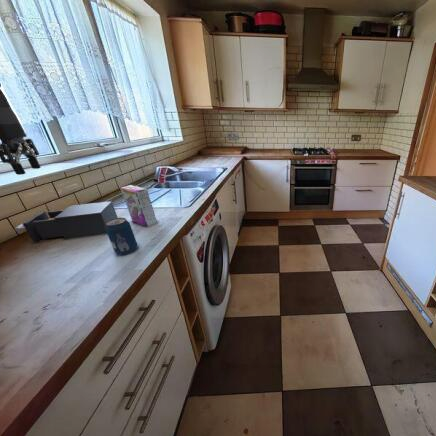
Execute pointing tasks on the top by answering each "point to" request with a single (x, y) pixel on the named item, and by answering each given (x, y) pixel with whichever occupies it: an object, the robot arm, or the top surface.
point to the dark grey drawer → (42, 226)
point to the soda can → (121, 236)
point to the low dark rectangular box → (85, 219)
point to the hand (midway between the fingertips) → (29, 171)
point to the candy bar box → (139, 205)
